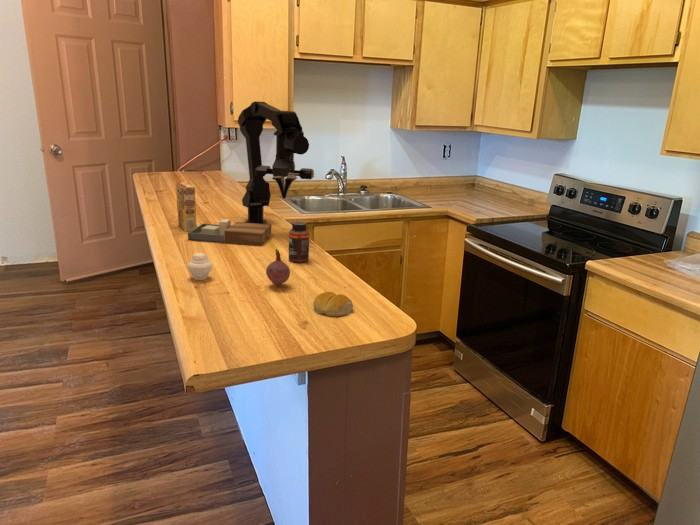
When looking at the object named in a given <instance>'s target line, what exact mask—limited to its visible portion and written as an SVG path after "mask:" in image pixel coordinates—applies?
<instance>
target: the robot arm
mask: <svg viewBox="0 0 700 525" xmlns="http://www.w3.org/2000/svg"><path fill="white" fill-rule="evenodd" d="M267 120H268V121H270V122H271V125H272V127H274V128H275V129H276V130H275V131H274V133H273V136H275V137H276V140H275V141H276V142H275V146H276V147H275V148H276V149H275V159H274V161H273V164H272V165H271V166H272V168H271V166H270V165H263V163H262V162H263V161H262V151H261V150H262V149H261V142H260V141H261V140H260V136H261V135H262V133H263V131H264V130H263V129H264V124H265V122H266V121H267ZM237 123H238V126H239V130H240V132H241V134H242V135H243V136H244V137H243V138H245V145H246V146H245V147H246V154H247V156H246V157H247V164H248V166H247V167H248V175H249V180H248V182H247V184H246V186H245V194H244V195H243V197H242V199H241V203H242V206H243V207H245V208H247V220H245V221H244V222H245V223H259V224H265V223H266V222H267V219H265V218H264V207H269V206H270V200H271V196H272V195H271V191H270V183H269V181H268V182H267V180H265V178H264V177H265V176H266V175H272V180H273V181H274V180H275V182H276V183H277V186H278V188H279V191H280V194H281V196H282V199H286V198H287V195H288V193H289V190H290V187H291V185H292V184H293V181H296V180H297V179H298V177H299V178H300V179H301V180H312V179H313V178H314V177H315V176H314V175H315V171H314V169H313V168H307V167H305V168H304V167H302V168H300V169H298V170H296V164H295V161H294V160H295V159H294V158H295V157H294V156H295V154H297V155H300V156H301V155H305V154H306V153H307V152H308V151H309V149H310V143H309V140H308V138H307V137H305V136H304V135H305V132H304V131H303V127H302V125H301V122H300V119H299V117H298V115H297V113H296V111H293V110H292V111H291V110H281V109H280V108H277V107H275V106H273V105H271V104H268V103H267V102H265V101H253V102H251V104H250V105H249V106H247V107H246V108H244V109H242V110H241V112H240V114H239V115H238V117H237Z"/></svg>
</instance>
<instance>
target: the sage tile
mask: <svg viewBox="0 0 700 525" xmlns="http://www.w3.org/2000/svg"><path fill="white" fill-rule="evenodd" d="M201 231H202V234H215V235H219V226H211V225H207V226H205V227H203V228H201Z"/></svg>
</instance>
